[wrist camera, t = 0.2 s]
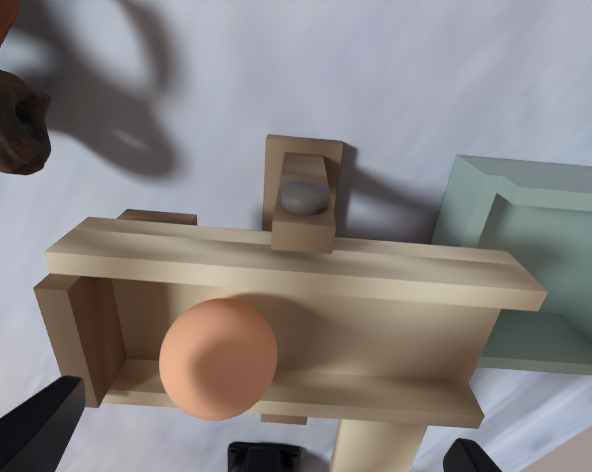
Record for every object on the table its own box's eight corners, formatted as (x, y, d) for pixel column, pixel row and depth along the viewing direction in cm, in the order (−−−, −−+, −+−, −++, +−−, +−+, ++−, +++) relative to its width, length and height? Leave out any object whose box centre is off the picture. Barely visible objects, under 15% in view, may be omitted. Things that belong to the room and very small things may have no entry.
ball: (277, 357, 15) (269, 451, 12) (183, 350, 15) (146, 443, 12) (284, 280, 13) (276, 364, 10) (176, 272, 13) (130, 353, 10)
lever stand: (260, 297, 24) (238, 428, 16) (267, 134, 19) (240, 201, 11) (318, 301, 24) (326, 434, 16) (341, 140, 19) (371, 212, 11)
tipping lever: (151, 422, 22) (109, 524, 17) (113, 197, 15) (26, 265, 10) (405, 439, 22) (433, 545, 18) (483, 228, 15) (564, 307, 11)
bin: (562, 318, 25) (618, 377, 20) (411, 306, 24) (435, 363, 20) (644, 171, 20) (742, 206, 15) (456, 154, 20) (501, 185, 15)
